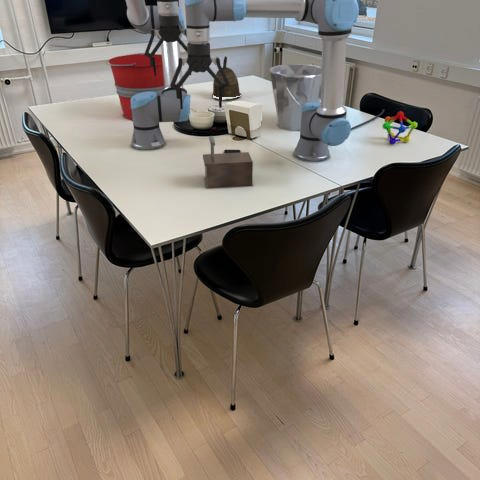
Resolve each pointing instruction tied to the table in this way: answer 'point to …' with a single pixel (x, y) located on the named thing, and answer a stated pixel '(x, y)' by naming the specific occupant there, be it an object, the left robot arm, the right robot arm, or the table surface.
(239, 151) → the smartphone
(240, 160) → the lid
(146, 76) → the bucket
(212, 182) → the chest
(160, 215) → the table surface
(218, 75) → the bell
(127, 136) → the table surface
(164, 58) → the left robot arm
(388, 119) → the educational toy
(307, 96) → the bucket
